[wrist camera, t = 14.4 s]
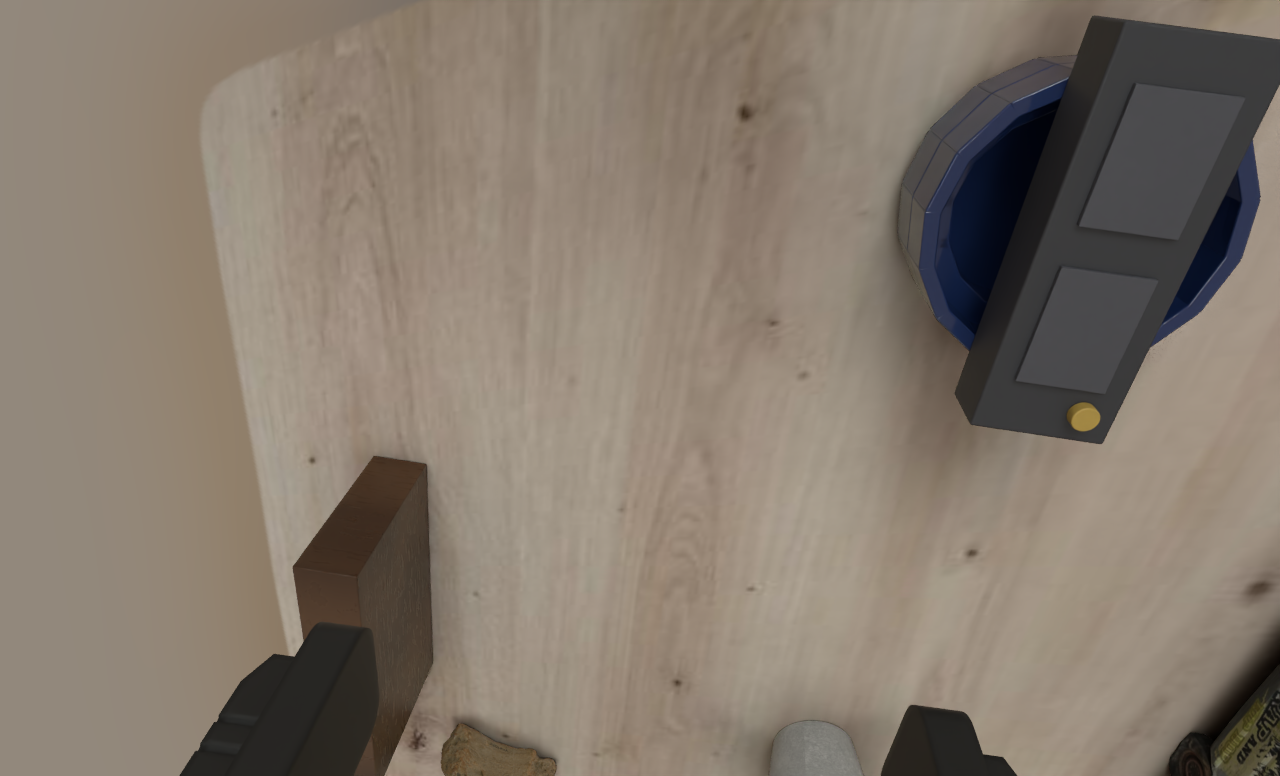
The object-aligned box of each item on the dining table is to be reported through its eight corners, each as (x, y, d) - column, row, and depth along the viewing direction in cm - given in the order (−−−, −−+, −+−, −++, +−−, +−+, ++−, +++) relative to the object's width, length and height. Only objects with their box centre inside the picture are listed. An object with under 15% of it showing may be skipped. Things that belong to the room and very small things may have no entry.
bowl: (860, 133, 31) (880, 160, 27) (1157, -3, 28) (1234, 3, 24) (939, 356, 36) (967, 410, 32) (1204, 262, 32) (1277, 308, 28)
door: (1090, 14, 24) (1133, 21, 22) (1251, 35, 24) (1313, 44, 22) (953, 393, 31) (973, 432, 29) (1076, 411, 31) (1108, 453, 28)
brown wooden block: (373, 455, 42) (291, 566, 34) (426, 463, 42) (356, 577, 34) (388, 655, 50) (324, 783, 42) (433, 662, 50) (377, 792, 42)
